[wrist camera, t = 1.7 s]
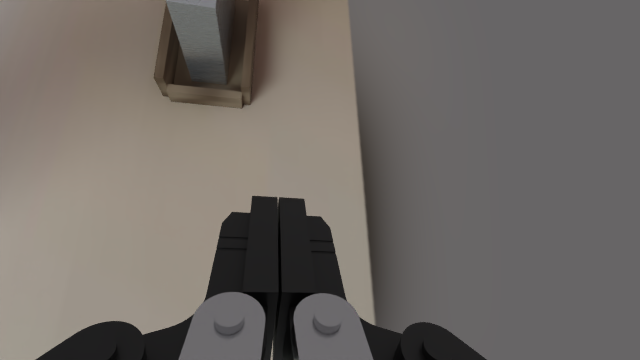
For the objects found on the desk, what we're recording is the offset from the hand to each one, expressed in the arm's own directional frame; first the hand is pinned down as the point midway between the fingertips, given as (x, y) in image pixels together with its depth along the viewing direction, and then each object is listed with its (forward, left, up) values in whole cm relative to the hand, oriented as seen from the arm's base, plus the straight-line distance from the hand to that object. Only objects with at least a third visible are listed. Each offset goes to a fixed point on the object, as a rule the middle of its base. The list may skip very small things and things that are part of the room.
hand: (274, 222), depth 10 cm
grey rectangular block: (-6, +23, -23) cm, 33 cm away
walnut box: (-6, +22, -23) cm, 33 cm away
